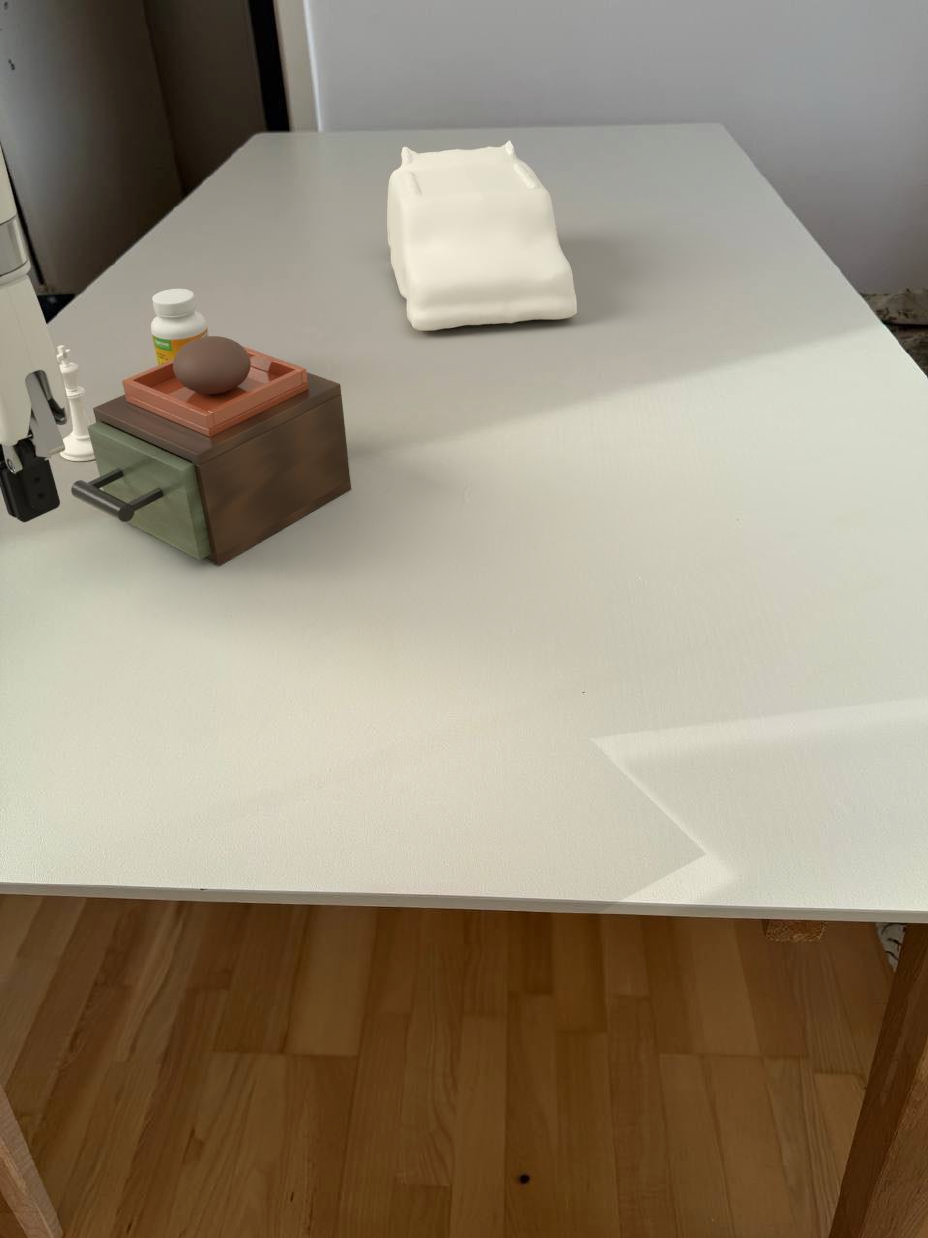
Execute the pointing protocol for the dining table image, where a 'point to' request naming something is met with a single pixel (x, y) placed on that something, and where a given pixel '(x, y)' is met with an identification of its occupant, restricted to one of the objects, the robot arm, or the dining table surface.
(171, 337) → the supplement bottle
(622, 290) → the dining table surface
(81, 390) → the chess piece
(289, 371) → the orange square tray
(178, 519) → the drawer
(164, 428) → the cabinet
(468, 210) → the flour sack
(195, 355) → the egg
